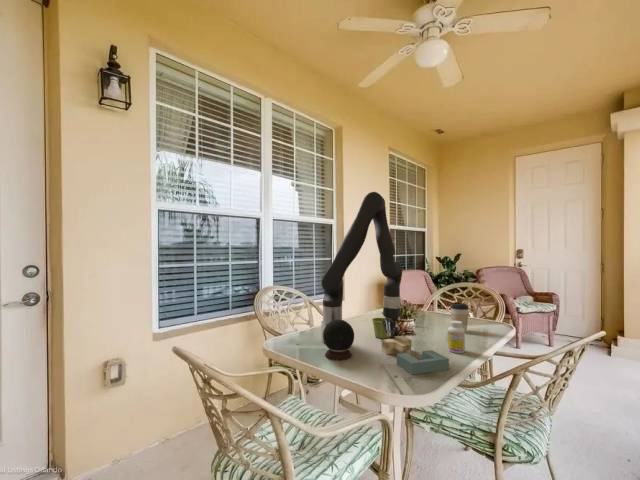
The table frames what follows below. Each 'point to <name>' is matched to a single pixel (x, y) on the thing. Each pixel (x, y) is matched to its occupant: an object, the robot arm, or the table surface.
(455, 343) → the supplement bottle
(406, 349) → the t block
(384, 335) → the plant pot
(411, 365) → the dock
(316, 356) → the table surface
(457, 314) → the coffee cup
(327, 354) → the black ball on stand
